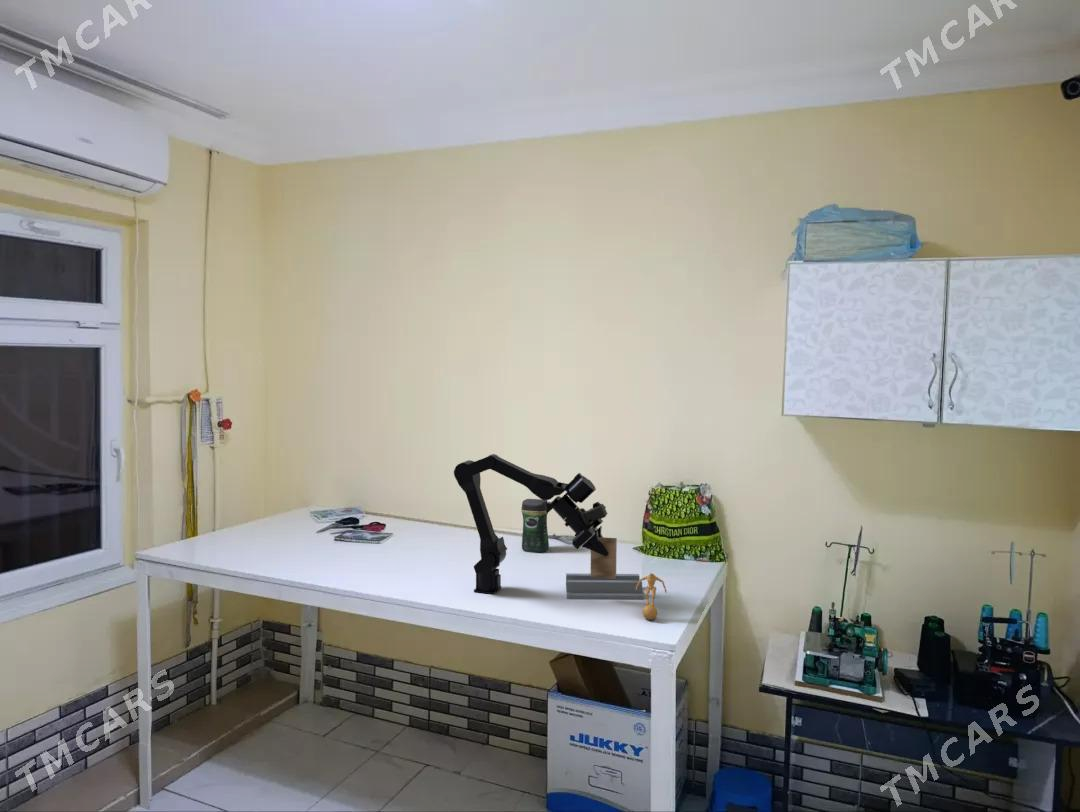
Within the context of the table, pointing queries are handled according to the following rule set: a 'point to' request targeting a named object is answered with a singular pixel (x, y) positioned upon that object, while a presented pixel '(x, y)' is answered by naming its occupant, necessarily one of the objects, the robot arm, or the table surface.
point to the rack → (603, 587)
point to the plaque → (605, 560)
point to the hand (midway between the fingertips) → (608, 553)
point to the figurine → (650, 609)
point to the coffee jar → (534, 525)
